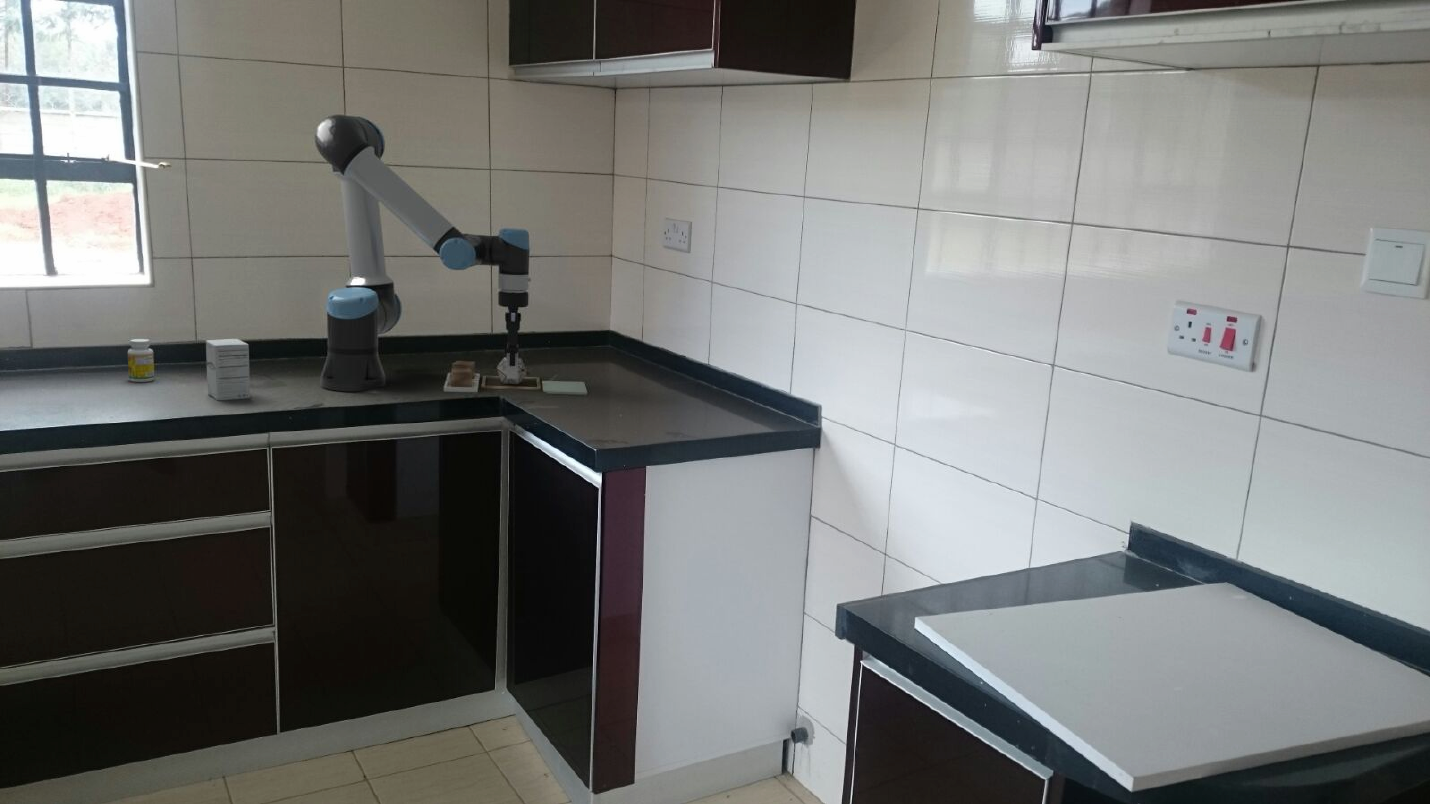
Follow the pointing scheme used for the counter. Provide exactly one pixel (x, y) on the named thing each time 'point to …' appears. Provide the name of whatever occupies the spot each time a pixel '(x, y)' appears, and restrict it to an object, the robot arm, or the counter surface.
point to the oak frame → (511, 387)
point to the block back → (465, 366)
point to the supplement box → (228, 369)
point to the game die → (503, 371)
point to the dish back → (477, 378)
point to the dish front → (461, 389)
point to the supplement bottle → (140, 361)
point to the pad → (564, 387)
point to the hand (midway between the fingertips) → (512, 373)
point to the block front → (461, 378)
